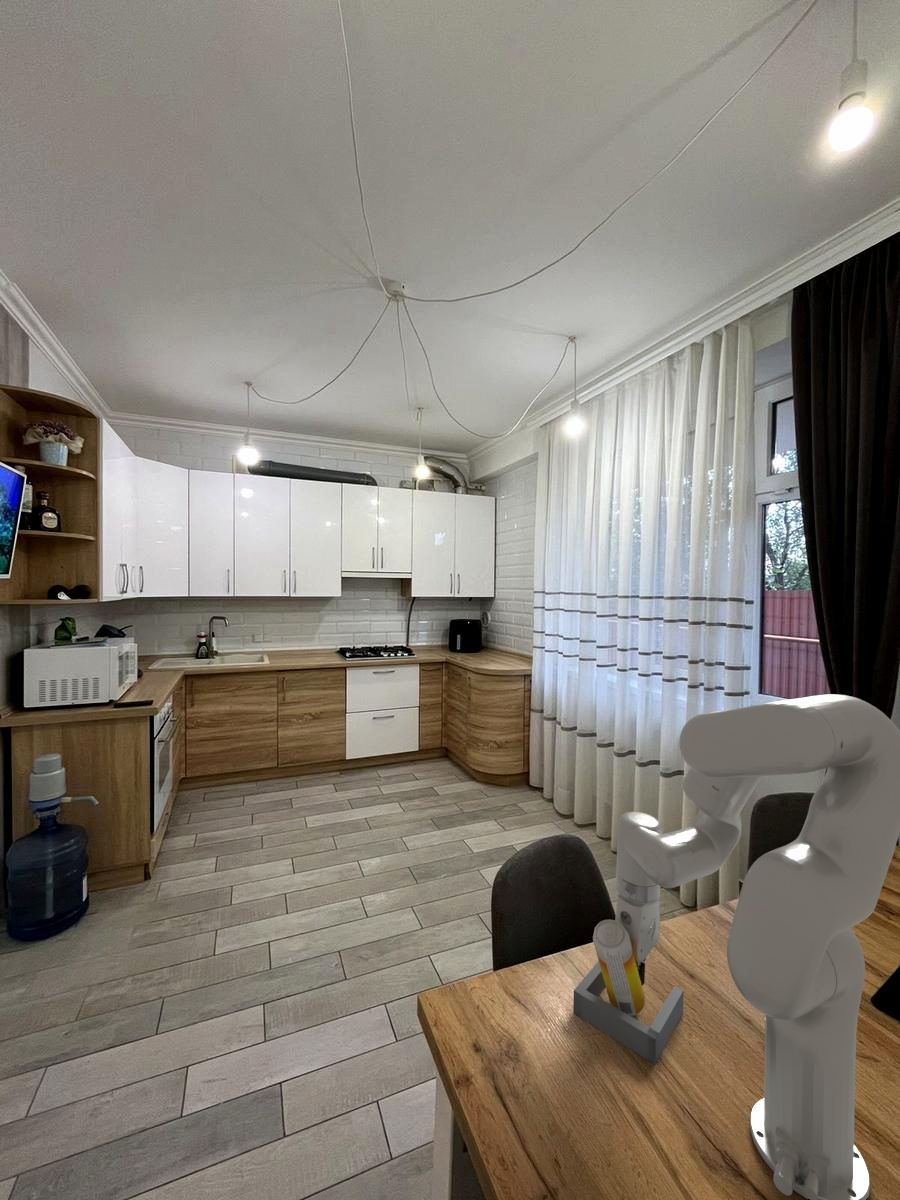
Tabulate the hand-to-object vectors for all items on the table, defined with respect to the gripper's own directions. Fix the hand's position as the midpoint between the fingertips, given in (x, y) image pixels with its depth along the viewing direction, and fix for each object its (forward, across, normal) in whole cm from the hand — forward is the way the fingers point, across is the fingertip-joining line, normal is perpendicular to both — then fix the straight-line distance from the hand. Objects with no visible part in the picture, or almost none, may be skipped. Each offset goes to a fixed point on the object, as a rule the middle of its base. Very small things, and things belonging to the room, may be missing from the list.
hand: (634, 982), depth 91 cm
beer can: (+1, -4, -1) cm, 4 cm away
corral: (+2, -5, -1) cm, 5 cm away
